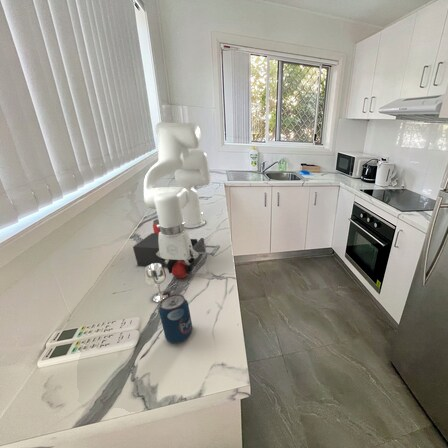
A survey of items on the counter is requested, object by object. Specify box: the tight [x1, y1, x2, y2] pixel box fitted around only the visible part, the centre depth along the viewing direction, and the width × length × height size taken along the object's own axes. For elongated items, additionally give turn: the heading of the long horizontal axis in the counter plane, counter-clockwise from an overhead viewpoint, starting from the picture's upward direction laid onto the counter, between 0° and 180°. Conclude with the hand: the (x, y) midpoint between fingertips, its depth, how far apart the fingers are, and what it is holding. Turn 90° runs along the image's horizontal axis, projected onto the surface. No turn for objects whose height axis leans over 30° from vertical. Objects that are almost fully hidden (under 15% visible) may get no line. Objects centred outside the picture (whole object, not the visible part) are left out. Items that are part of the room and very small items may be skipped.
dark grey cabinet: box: [132, 232, 175, 268], centre depth 103 cm, size 15×13×9 cm
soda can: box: [158, 293, 194, 345], centre depth 66 cm, size 7×7×12 cm
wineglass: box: [144, 263, 169, 303], centre depth 80 cm, size 6×6×12 cm
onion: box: [171, 260, 188, 279], centre depth 91 cm, size 6×6×8 cm
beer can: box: [152, 218, 161, 233], centre depth 114 cm, size 7×7×12 cm
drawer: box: [174, 237, 221, 267], centre depth 102 cm, size 21×12×7 cm, turn 88°
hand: (180, 271), depth 91 cm, fingers closed on onion, 5 cm apart
